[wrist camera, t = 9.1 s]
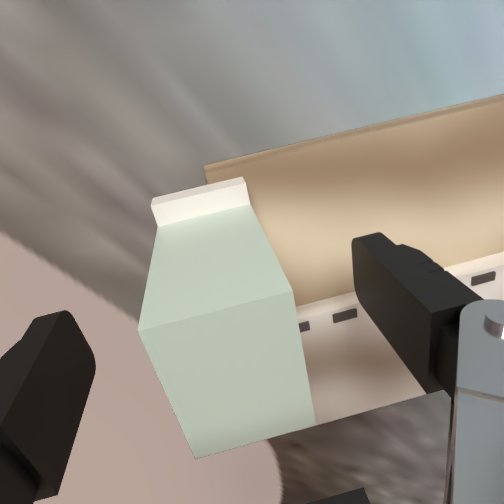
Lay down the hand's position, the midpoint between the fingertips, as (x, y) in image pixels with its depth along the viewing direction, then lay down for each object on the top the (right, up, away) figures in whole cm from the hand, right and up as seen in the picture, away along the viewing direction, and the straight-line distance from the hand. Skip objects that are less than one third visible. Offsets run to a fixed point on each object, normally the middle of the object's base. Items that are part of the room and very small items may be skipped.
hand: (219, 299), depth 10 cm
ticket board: (+7, 0, +6) cm, 10 cm away
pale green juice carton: (0, +1, +3) cm, 3 cm away
